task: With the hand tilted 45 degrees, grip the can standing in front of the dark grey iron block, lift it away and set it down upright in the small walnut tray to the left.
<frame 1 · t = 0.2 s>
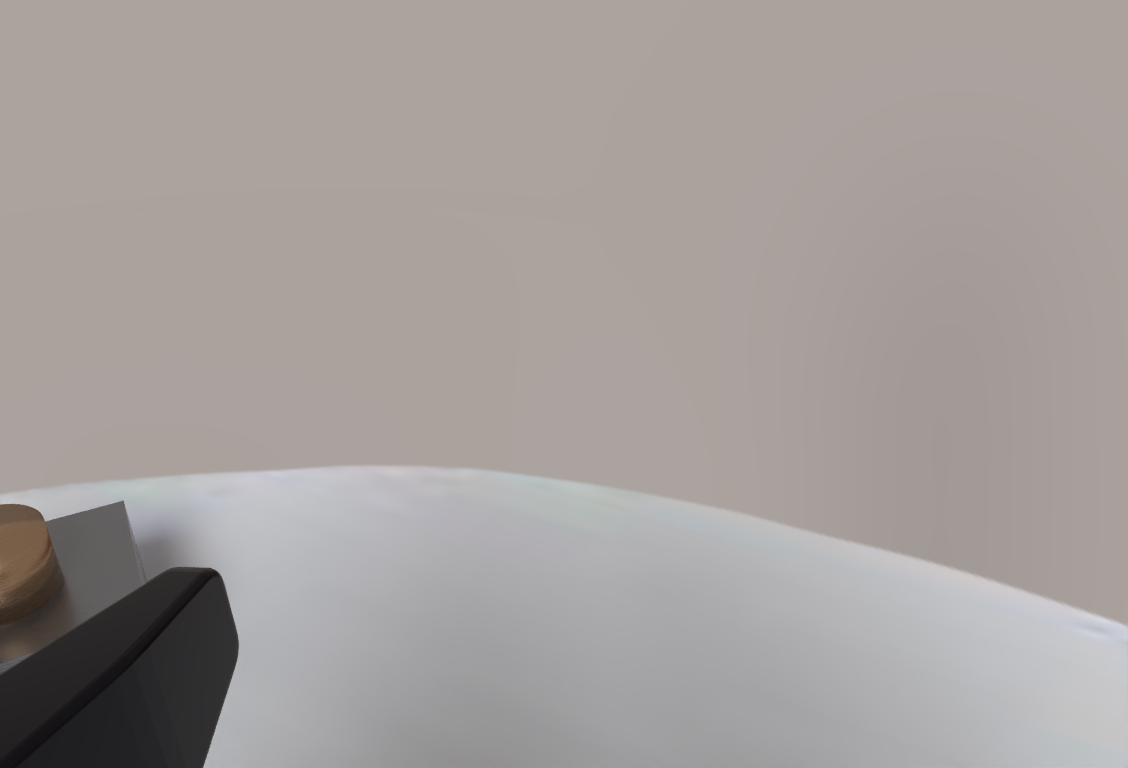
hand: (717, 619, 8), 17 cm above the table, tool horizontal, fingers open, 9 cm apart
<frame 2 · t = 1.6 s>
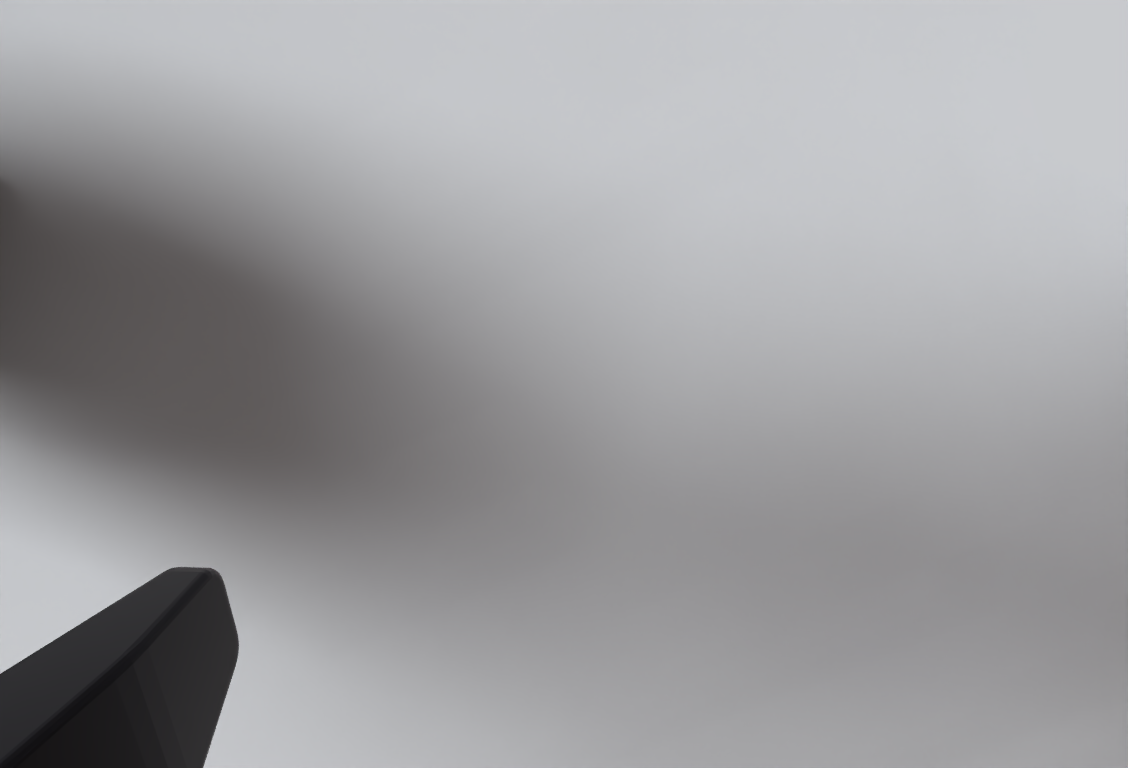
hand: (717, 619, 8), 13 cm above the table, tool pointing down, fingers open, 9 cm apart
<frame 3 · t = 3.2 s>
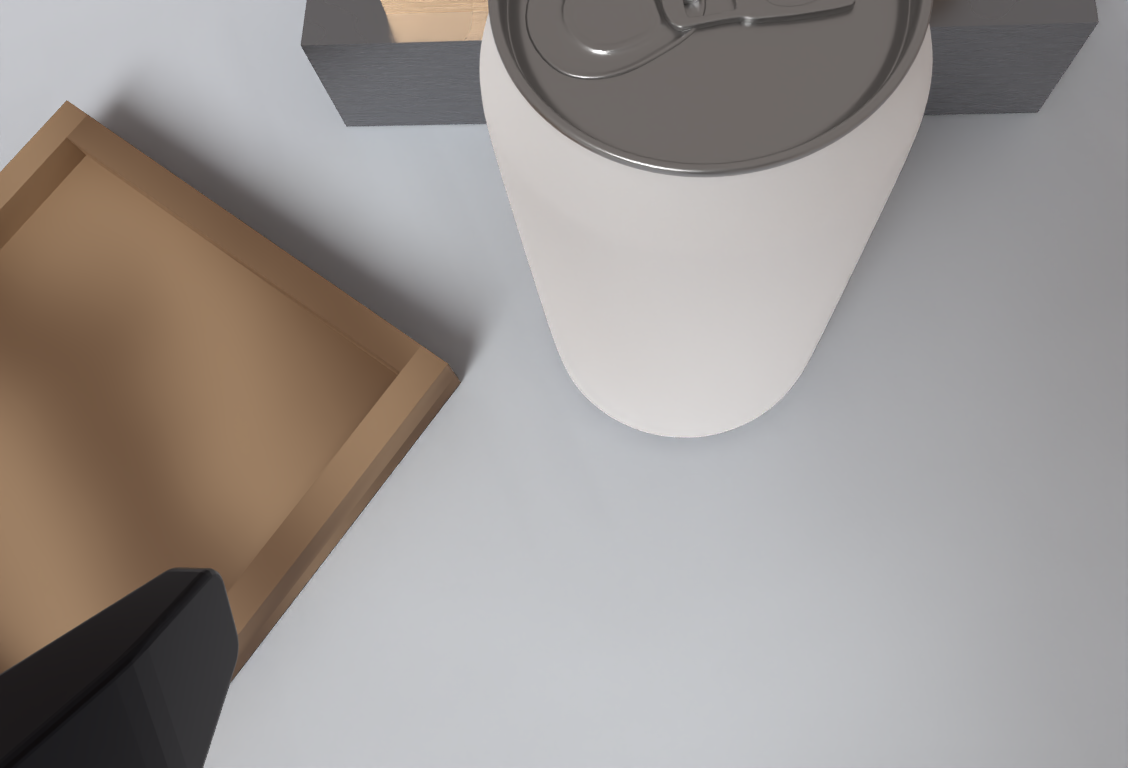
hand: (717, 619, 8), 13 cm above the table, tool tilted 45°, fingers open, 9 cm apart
can: (682, 318, 24), on the table
walnut tray: (101, 447, 24), on the table
iron block: (679, 22, 26), on the table
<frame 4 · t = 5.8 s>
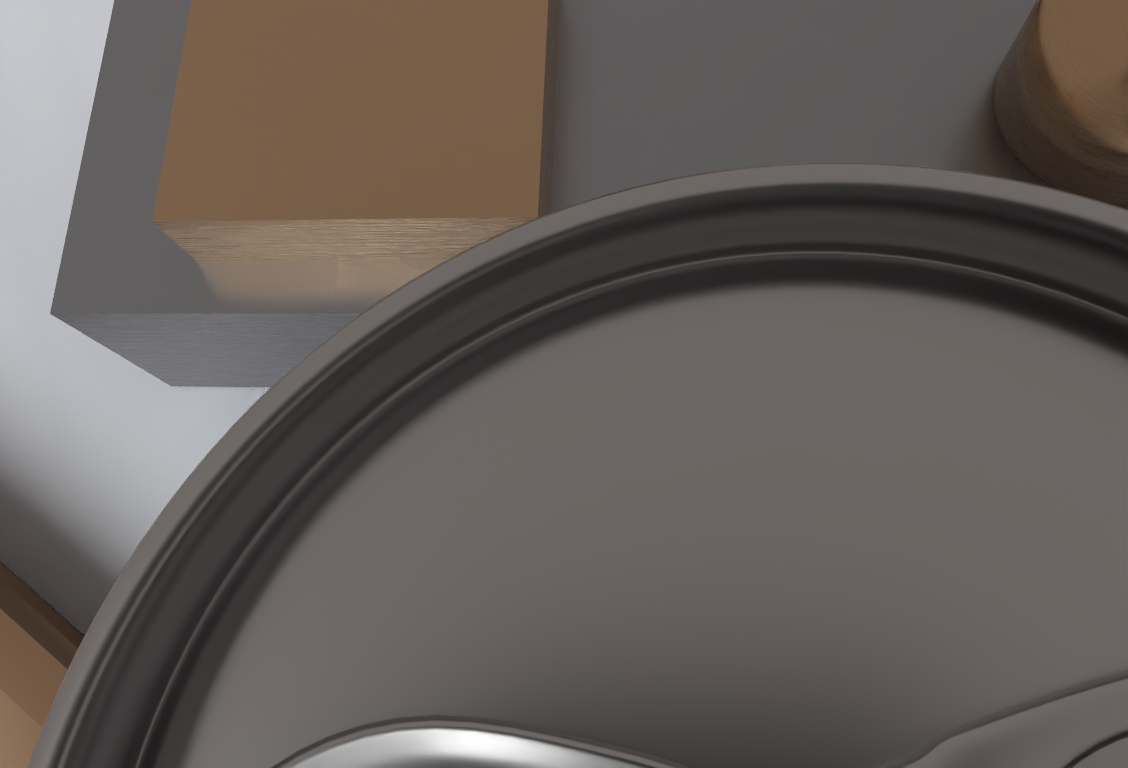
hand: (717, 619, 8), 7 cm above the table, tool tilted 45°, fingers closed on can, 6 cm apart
can: (694, 741, 14), on the table, touching gripper
iron block: (689, 225, 17), on the table
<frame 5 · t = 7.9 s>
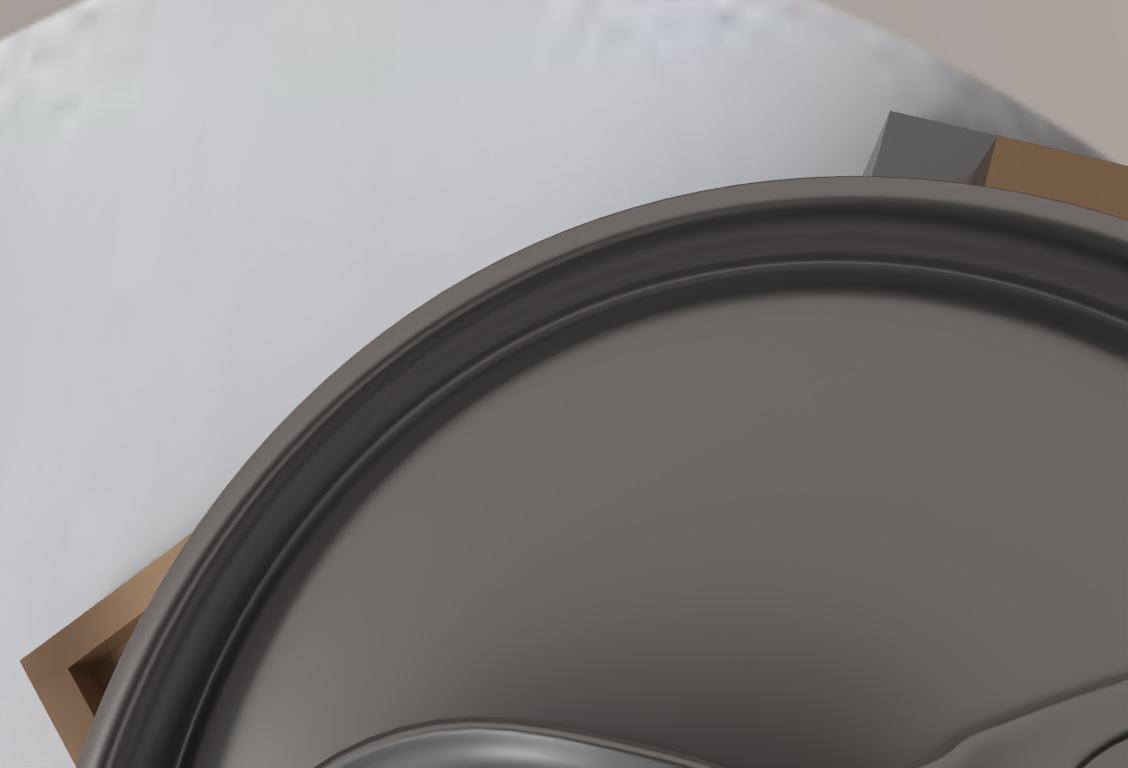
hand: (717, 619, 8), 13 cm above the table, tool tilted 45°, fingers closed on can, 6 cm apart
can: (684, 728, 15), point 6 cm above the table, touching gripper
walnut tray: (444, 720, 21), on the table
when the fingers open (8 cm above the table, at t = 9.9 s): can drops 1 cm, resting on walnut tray.
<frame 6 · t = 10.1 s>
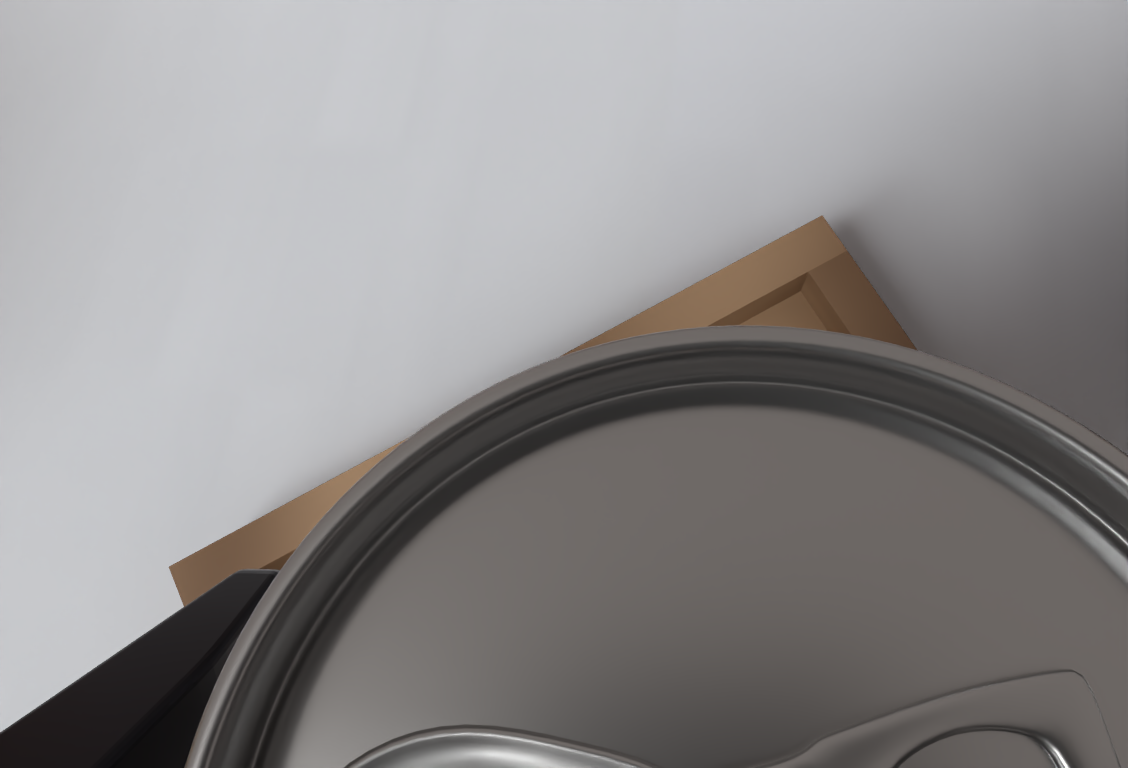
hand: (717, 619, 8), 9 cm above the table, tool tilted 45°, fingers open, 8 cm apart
can: (688, 739, 16), resting on walnut tray
walnut tray: (688, 730, 16), on the table
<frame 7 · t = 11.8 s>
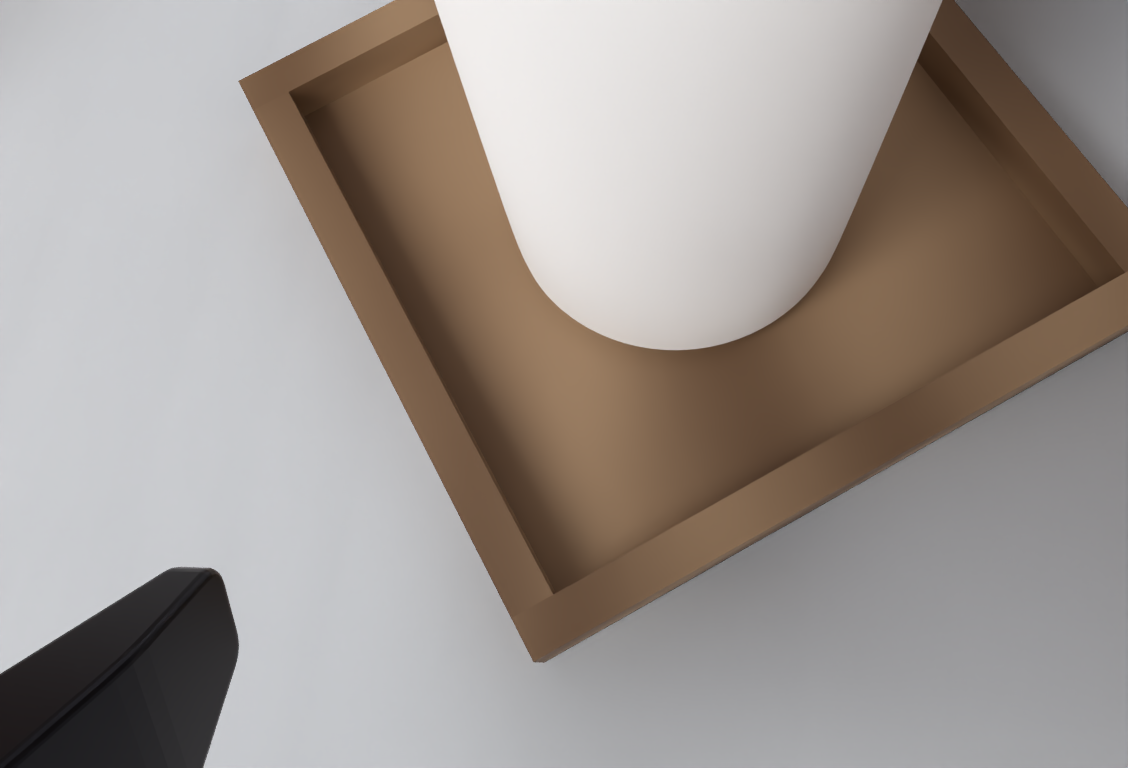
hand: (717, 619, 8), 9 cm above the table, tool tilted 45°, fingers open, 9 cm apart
can: (674, 208, 19), resting on walnut tray
walnut tray: (674, 211, 19), on the table
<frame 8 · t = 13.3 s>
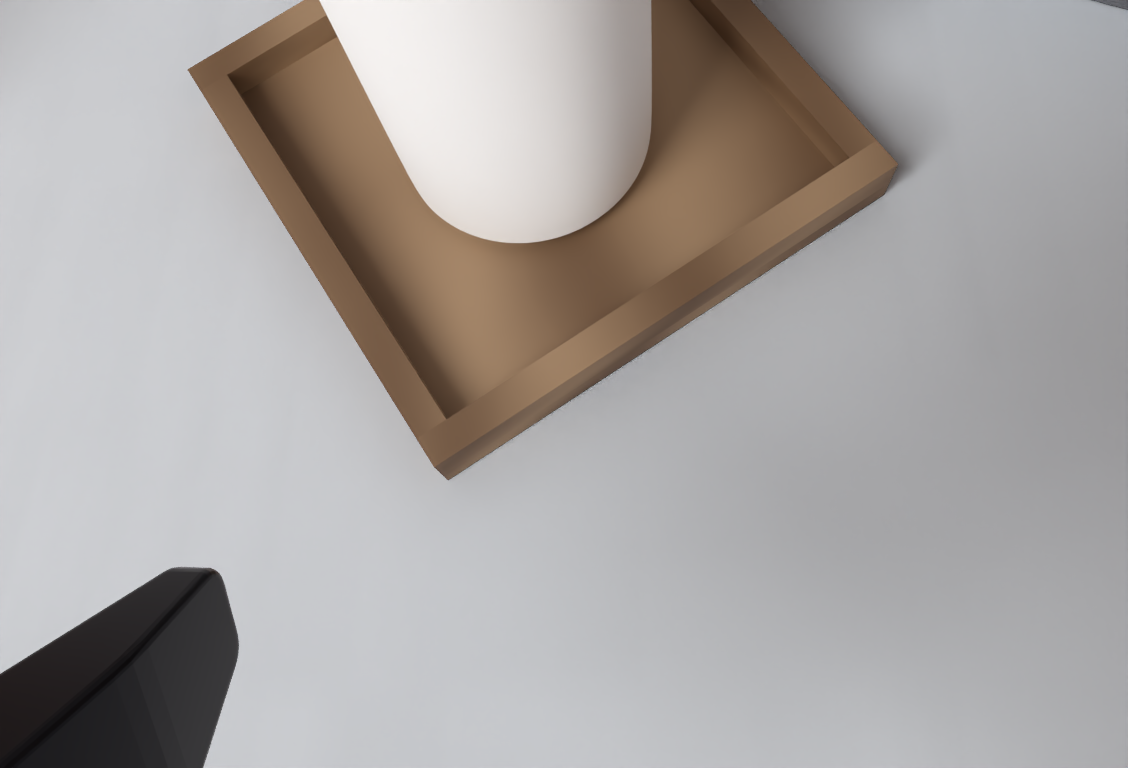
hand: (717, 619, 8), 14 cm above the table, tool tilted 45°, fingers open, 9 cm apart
can: (528, 141, 25), resting on walnut tray
walnut tray: (530, 145, 25), on the table
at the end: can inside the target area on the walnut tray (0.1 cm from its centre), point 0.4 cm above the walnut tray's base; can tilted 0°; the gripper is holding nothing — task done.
